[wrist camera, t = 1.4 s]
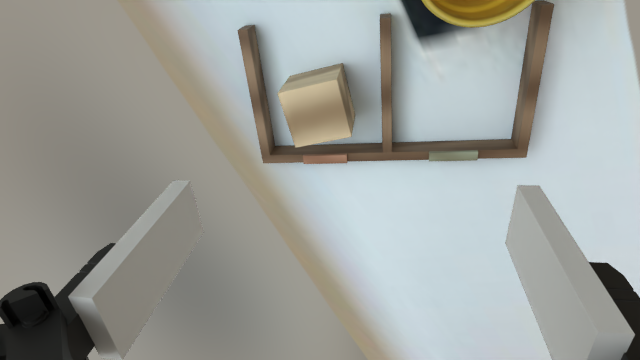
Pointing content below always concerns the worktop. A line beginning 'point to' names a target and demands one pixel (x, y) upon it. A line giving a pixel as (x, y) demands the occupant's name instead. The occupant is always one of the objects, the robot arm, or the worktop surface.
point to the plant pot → (476, 11)
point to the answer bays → (387, 149)
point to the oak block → (318, 106)
